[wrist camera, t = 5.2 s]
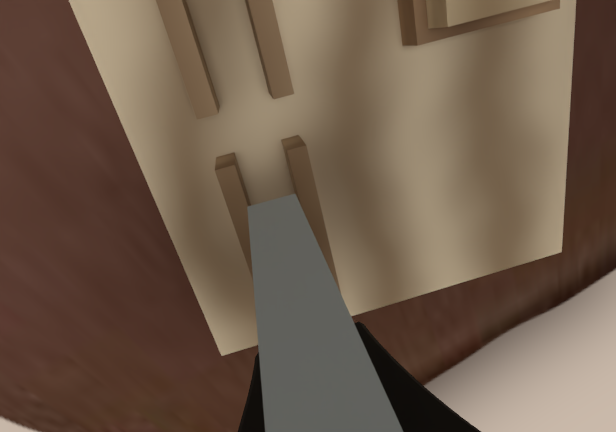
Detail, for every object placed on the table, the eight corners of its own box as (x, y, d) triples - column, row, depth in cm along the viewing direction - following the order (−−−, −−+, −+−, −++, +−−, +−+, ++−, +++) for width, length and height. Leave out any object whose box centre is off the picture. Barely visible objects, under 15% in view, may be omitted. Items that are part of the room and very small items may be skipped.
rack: (570, -274, 14) (649, -348, 12) (549, 244, 24) (590, 269, 21) (11, -156, 13) (-47, -209, 10) (222, 343, 22) (220, 384, 20)
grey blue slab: (295, 193, 12) (426, 481, 4) (338, 366, 15) (471, 753, 6) (247, 206, 12) (273, 533, 4) (300, 377, 15) (384, 787, 6)
